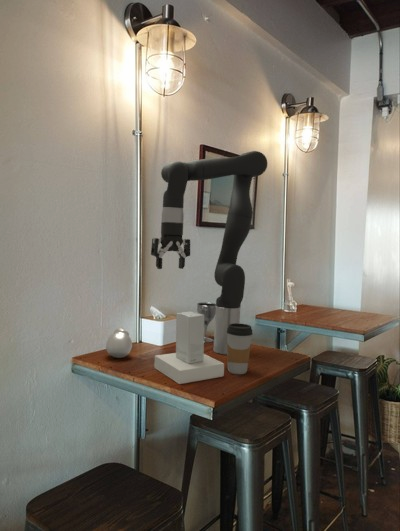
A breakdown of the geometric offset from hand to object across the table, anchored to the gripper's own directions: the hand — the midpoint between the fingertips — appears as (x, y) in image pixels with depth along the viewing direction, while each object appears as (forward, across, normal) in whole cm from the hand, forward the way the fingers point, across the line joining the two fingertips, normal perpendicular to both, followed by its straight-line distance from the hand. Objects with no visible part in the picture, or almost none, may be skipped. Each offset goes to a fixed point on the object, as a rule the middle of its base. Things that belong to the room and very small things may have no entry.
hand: (170, 268), depth 145 cm
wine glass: (+32, -26, -14) cm, 44 cm away
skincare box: (+28, +1, +16) cm, 32 cm away
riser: (+31, +1, +16) cm, 35 cm away
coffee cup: (+32, -14, +22) cm, 41 cm away
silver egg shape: (+32, +15, -7) cm, 35 cm away
